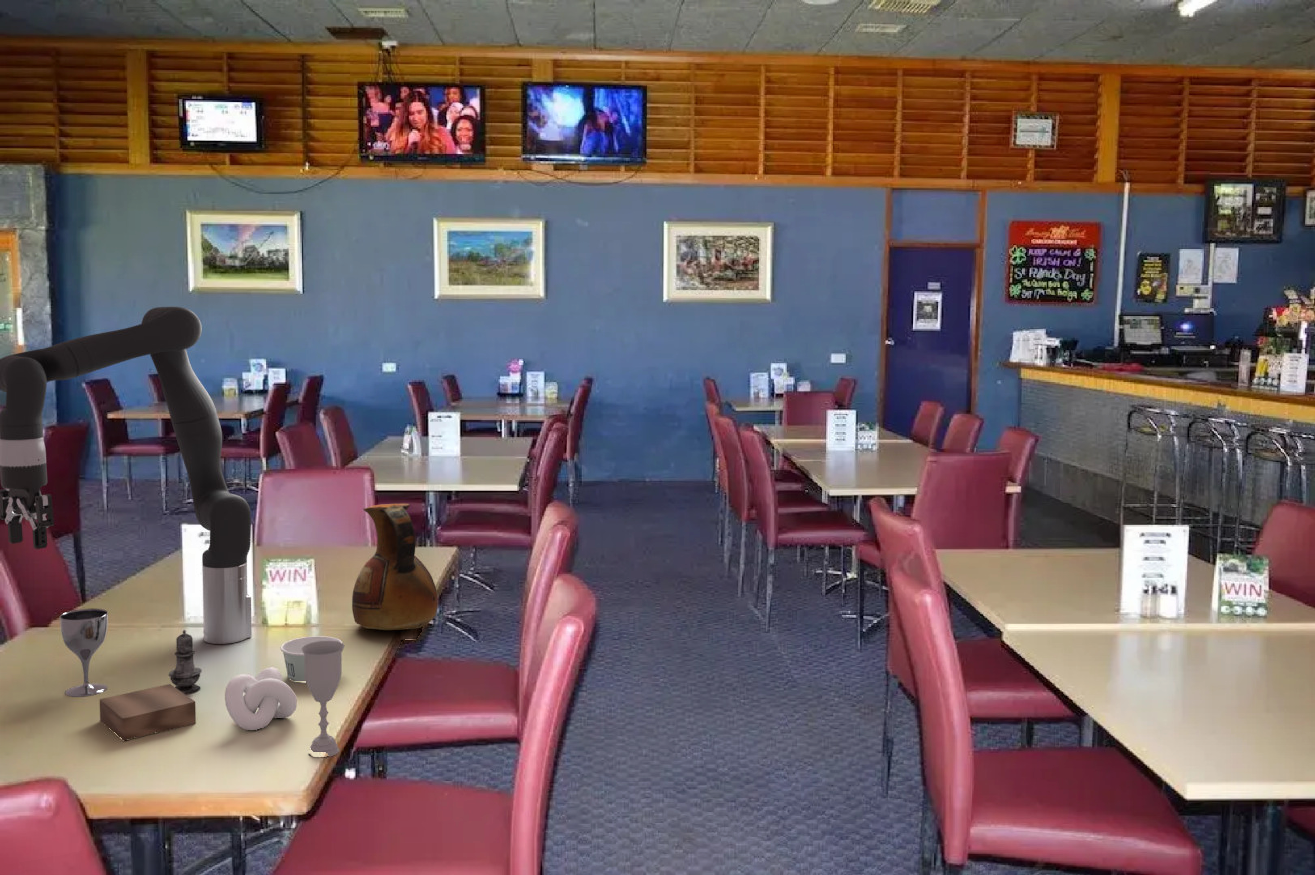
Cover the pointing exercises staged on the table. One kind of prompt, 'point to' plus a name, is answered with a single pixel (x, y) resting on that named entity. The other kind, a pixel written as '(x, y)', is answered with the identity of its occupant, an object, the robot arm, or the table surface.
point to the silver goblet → (84, 643)
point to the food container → (299, 655)
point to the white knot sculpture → (259, 699)
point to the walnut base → (147, 711)
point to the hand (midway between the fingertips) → (28, 545)
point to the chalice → (323, 685)
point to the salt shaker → (185, 666)
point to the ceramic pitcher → (394, 576)
